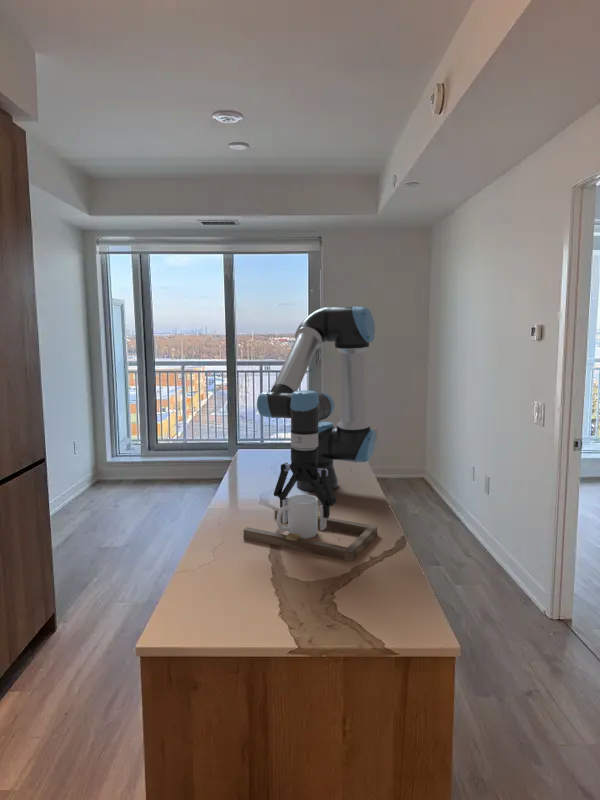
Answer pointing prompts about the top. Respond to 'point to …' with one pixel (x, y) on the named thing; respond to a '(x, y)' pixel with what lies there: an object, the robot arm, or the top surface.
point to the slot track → (316, 547)
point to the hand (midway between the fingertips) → (304, 524)
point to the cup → (301, 515)
